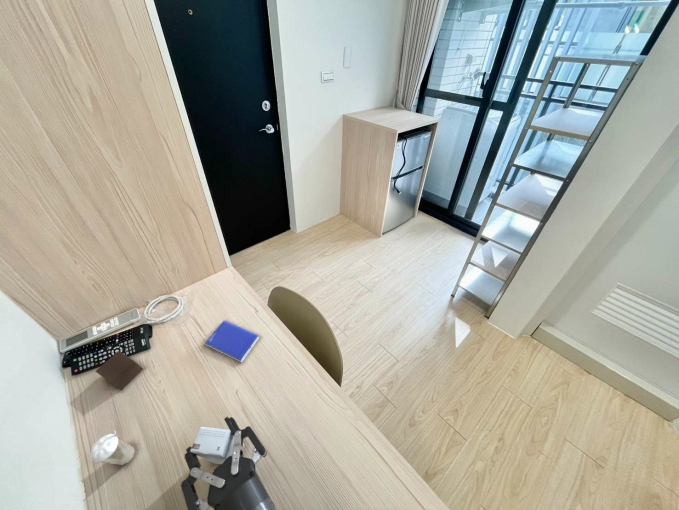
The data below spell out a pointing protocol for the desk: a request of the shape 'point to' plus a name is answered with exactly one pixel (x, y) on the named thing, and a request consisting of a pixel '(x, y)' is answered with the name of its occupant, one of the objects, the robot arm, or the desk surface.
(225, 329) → the hard drive
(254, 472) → the robot arm
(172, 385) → the desk surface
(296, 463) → the desk surface
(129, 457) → the milkshake
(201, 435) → the cosmetic box
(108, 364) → the walnut cube
